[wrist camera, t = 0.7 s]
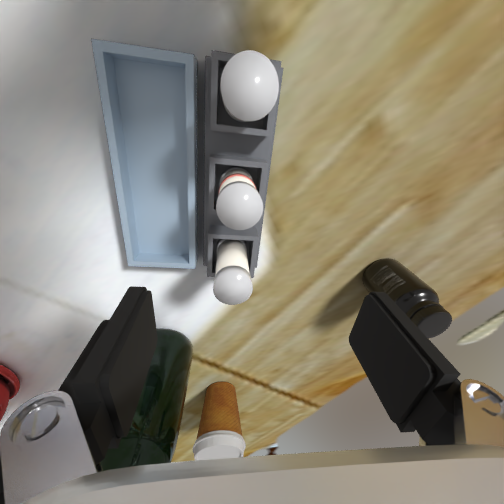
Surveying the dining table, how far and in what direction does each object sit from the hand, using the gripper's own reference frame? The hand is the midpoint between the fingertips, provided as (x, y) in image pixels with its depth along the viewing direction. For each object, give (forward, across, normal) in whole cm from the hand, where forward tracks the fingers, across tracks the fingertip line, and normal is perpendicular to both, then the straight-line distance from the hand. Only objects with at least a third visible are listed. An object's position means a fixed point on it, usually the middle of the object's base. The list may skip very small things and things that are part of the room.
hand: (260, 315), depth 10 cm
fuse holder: (+24, 0, 0) cm, 24 cm away
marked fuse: (+23, 0, 0) cm, 23 cm away
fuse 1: (+23, 0, -10) cm, 25 cm away
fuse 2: (+23, 0, +8) cm, 24 cm away
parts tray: (+24, +10, -1) cm, 26 cm away
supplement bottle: (+24, -25, +13) cm, 38 cm away
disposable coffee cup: (+24, +1, +45) cm, 51 cm away
